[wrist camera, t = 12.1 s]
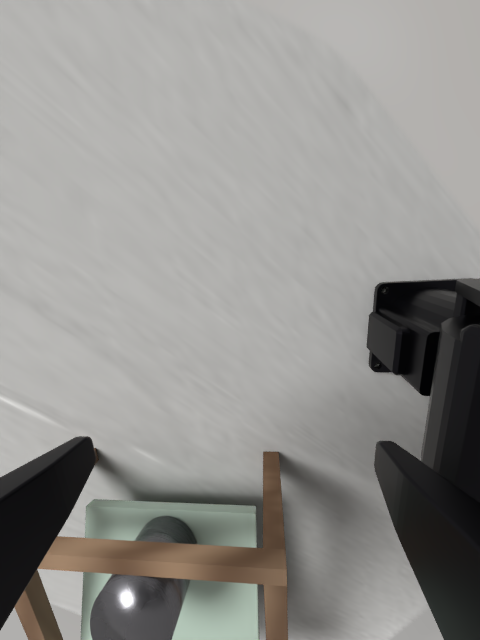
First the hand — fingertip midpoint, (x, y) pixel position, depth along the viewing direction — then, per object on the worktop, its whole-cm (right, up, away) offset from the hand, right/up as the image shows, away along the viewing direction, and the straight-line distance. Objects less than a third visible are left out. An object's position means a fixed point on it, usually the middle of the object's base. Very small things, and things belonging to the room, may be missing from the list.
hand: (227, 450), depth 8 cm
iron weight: (-5, -14, +12) cm, 19 cm away
